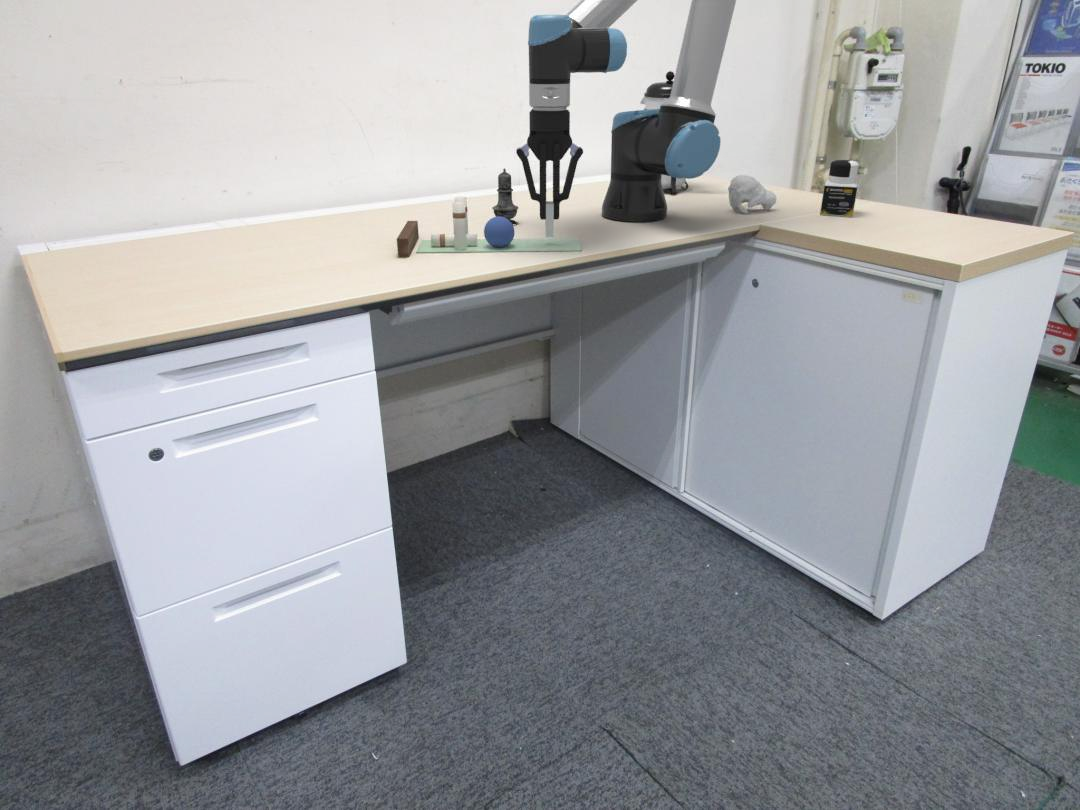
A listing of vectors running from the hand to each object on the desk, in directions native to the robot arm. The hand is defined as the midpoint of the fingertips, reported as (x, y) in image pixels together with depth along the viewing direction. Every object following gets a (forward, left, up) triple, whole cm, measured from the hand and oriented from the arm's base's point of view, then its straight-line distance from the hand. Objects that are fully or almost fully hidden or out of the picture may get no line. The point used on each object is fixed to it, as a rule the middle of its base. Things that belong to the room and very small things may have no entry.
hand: (549, 235), depth 148 cm
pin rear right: (+18, -3, -2) cm, 18 cm away
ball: (+10, +1, +1) cm, 10 cm away
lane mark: (+10, 0, -2) cm, 10 cm away
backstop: (+28, 0, -2) cm, 28 cm away
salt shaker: (+9, -21, -2) cm, 23 cm away
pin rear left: (+18, +3, -2) cm, 18 cm away
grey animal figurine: (-50, -32, -2) cm, 59 cm away
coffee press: (-35, -61, -2) cm, 70 cm away
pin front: (+14, 0, -1) cm, 14 cm away
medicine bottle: (-69, -28, -2) cm, 74 cm away
